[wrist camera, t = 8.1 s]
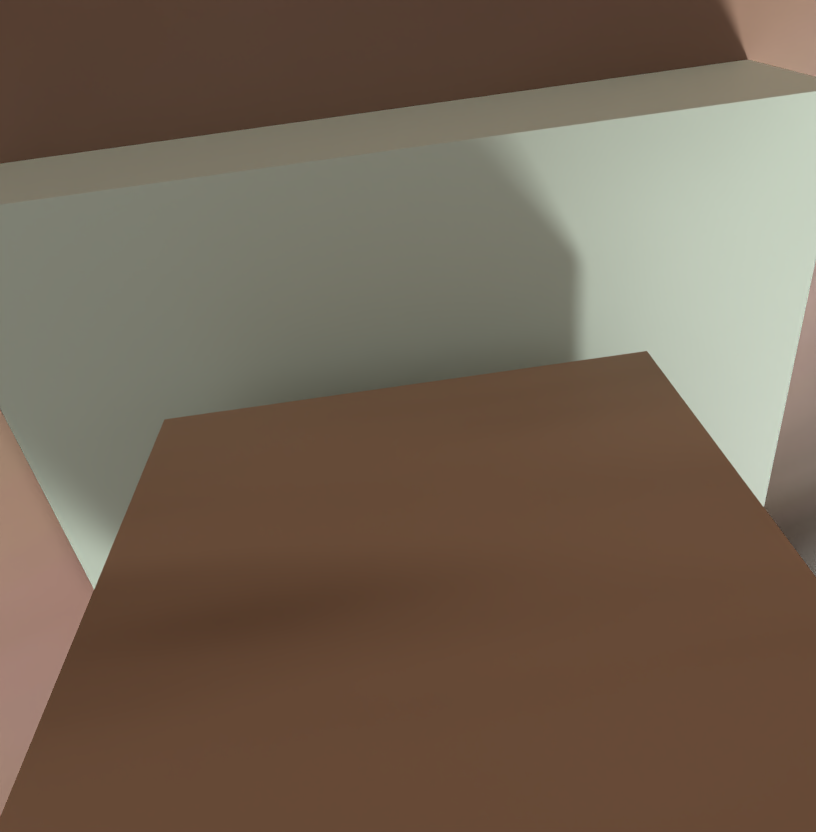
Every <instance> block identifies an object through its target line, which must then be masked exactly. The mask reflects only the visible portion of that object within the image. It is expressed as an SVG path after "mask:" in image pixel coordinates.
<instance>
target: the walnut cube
mask: <svg viewBox="0 0 816 832" xmlns="http://www.w3.org/2000/svg"><path fill="white" fill-rule="evenodd" d="M0 832H816V577H815V575H814V574H813V573H812V571H811V570H810V569H809V567H808V566H807V565H806V563H805V562H804V561H803V559H802V558H801V557H800V555H799V554H798V553H797V551H796V550H795V549H794V547H793V546H792V545H791V543H790V542H789V541H788V539H787V538H786V537H785V535H784V534H783V533H782V531H781V530H780V529H779V527H778V526H777V525H776V523H775V522H774V520H773V519H772V518H771V516H770V515H769V514H768V512H767V511H766V510H765V508H764V507H763V506H762V504H761V503H760V502H759V500H758V499H757V498H756V496H755V495H754V494H753V492H752V491H751V490H750V488H749V487H748V486H747V484H746V483H745V482H744V480H743V479H742V478H741V476H740V475H739V474H738V472H737V471H736V470H735V468H734V467H733V466H732V464H731V463H730V462H729V460H728V459H727V458H726V456H725V455H724V454H723V452H722V451H721V449H720V448H719V447H718V445H717V444H716V443H715V441H714V440H713V439H712V437H711V436H710V435H709V433H708V432H707V431H706V429H705V428H704V427H703V425H702V424H701V423H700V421H699V420H698V419H697V417H696V416H695V415H694V413H693V412H692V411H691V409H690V408H689V407H688V405H687V404H686V403H685V401H684V400H683V399H682V397H681V396H680V395H679V393H678V392H677V391H676V389H675V388H674V387H673V385H672V384H671V383H670V381H669V380H668V379H667V377H666V376H665V374H664V373H663V372H662V370H661V369H660V368H659V366H658V365H657V364H656V362H655V361H654V360H653V358H652V357H651V356H650V354H649V353H648V352H647V351H643V352H636V353H629V354H622V355H615V356H608V357H601V358H594V359H587V360H580V361H573V362H566V363H559V364H552V365H545V366H537V367H530V368H523V369H516V370H509V371H502V372H495V373H488V374H481V375H474V376H467V377H460V378H453V379H446V380H439V381H432V382H425V383H418V384H411V385H403V386H396V387H389V388H382V389H375V390H368V391H361V392H354V393H347V394H340V395H333V396H326V397H319V398H312V399H305V400H298V401H291V402H284V403H277V404H269V405H262V406H255V407H248V408H241V409H234V410H227V411H220V412H213V413H206V414H199V415H192V416H185V417H178V418H171V419H164V422H163V424H162V426H161V429H160V431H159V434H158V436H157V438H156V441H155V443H154V446H153V448H152V451H151V453H150V455H149V458H148V460H147V463H146V465H145V468H144V470H143V472H142V475H141V477H140V480H139V482H138V485H137V487H136V489H135V492H134V494H133V497H132V499H131V502H130V504H129V506H128V509H127V511H126V514H125V516H124V519H123V521H122V523H121V526H120V528H119V531H118V533H117V535H116V538H115V540H114V543H113V545H112V548H111V550H110V552H109V555H108V557H107V560H106V562H105V565H104V567H103V569H102V572H101V574H100V577H99V579H98V582H97V584H96V586H95V589H94V591H93V594H92V596H91V599H90V601H89V603H88V606H87V608H86V611H85V613H84V616H83V618H82V620H81V623H80V625H79V628H78V630H77V633H76V635H75V637H74V640H73V642H72V645H71V647H70V649H69V652H68V654H67V657H66V659H65V662H64V664H63V666H62V669H61V671H60V674H59V676H58V679H57V681H56V683H55V686H54V688H53V691H52V693H51V696H50V698H49V700H48V703H47V705H46V708H45V710H44V713H43V715H42V717H41V720H40V722H39V725H38V727H37V730H36V732H35V734H34V737H33V739H32V742H31V744H30V746H29V749H28V751H27V754H26V756H25V759H24V761H23V763H22V766H21V768H20V771H19V773H18V776H17V778H16V780H15V783H14V785H13V788H12V790H11V793H10V795H9V797H8V800H7V802H6V805H5V807H4V810H3V812H2V814H1V817H0Z"/></svg>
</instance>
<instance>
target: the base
mask: <svg viewBox="0 0 816 832" xmlns="http://www.w3.org/2000/svg"><path fill="white" fill-rule="evenodd" d="M815 261H816V77H814V76H811V75H807V74H803V73H799V72H795V71H791V70H787V69H783V68H779V67H775V66H771V65H767V64H764V63H760V62H756V61H752V60H741V61H734V62H726V63H719V64H712V65H705V66H698V67H690V68H683V69H676V70H669V71H662V72H655V73H647V74H640V75H633V76H626V77H619V78H611V79H604V80H597V81H590V82H583V83H576V84H568V85H561V86H554V87H547V88H540V89H532V90H525V91H518V92H511V93H504V94H496V95H489V96H482V97H475V98H468V99H461V100H453V101H446V102H439V103H432V104H425V105H417V106H410V107H403V108H396V109H389V110H382V111H374V112H367V113H360V114H353V115H346V116H338V117H331V118H324V119H317V120H310V121H303V122H295V123H288V124H281V125H274V126H267V127H259V128H252V129H245V130H238V131H231V132H224V133H216V134H209V135H202V136H195V137H188V138H180V139H173V140H166V141H159V142H152V143H144V144H137V145H130V146H123V147H116V148H109V149H101V150H94V151H87V152H80V153H73V154H65V155H58V156H51V157H44V158H37V159H30V160H22V161H15V162H8V163H1V164H0V409H1V411H2V413H3V415H4V417H5V419H6V421H7V423H8V425H9V427H10V428H11V430H12V432H13V434H14V436H15V438H16V440H17V442H18V444H19V446H20V448H21V450H22V452H23V453H24V455H25V457H26V459H27V461H28V463H29V465H30V467H31V469H32V471H33V473H34V475H35V477H36V478H37V480H38V482H39V484H40V486H41V488H42V490H43V492H44V494H45V496H46V498H47V500H48V502H49V503H50V505H51V507H52V509H53V511H54V513H55V515H56V517H57V519H58V521H59V523H60V525H61V527H62V528H63V530H64V532H65V534H66V536H67V538H68V540H69V542H70V544H71V546H72V548H73V550H74V552H75V553H76V555H77V557H78V559H79V561H80V563H81V565H82V567H83V569H84V571H85V573H86V575H87V577H88V578H89V580H90V582H91V584H92V586H93V588H94V589H95V586H96V584H97V582H98V579H99V577H100V574H101V572H102V569H103V567H104V565H105V562H106V560H107V557H108V555H109V552H110V550H111V548H112V545H113V543H114V540H115V538H116V535H117V533H118V531H119V528H120V526H121V523H122V521H123V519H124V516H125V514H126V511H127V509H128V506H129V504H130V502H131V499H132V497H133V494H134V492H135V489H136V487H137V485H138V482H139V480H140V477H141V475H142V472H143V470H144V468H145V465H146V463H147V460H148V458H149V455H150V453H151V451H152V448H153V446H154V443H155V441H156V438H157V436H158V434H159V431H160V429H161V426H162V424H163V422H164V419H171V418H178V417H185V416H192V415H199V414H206V413H213V412H220V411H227V410H234V409H241V408H248V407H255V406H262V405H269V404H277V403H284V402H291V401H298V400H305V399H312V398H319V397H326V396H333V395H340V394H347V393H354V392H361V391H368V390H375V389H382V388H389V387H396V386H403V385H411V384H418V383H425V382H432V381H439V380H446V379H453V378H460V377H467V376H474V375H481V374H488V373H495V372H502V371H509V370H516V369H523V368H530V367H537V366H545V365H552V364H559V363H566V362H573V361H580V360H587V359H594V358H601V357H608V356H615V355H622V354H629V353H636V352H643V351H647V352H648V353H649V354H650V356H651V357H652V358H653V360H654V361H655V362H656V364H657V365H658V366H659V368H660V369H661V370H662V372H663V373H664V374H665V376H666V377H667V379H668V380H669V381H670V383H671V384H672V385H673V387H674V388H675V389H676V391H677V392H678V393H679V395H680V396H681V397H682V399H683V400H684V401H685V403H686V404H687V405H688V407H689V408H690V409H691V411H692V412H693V413H694V415H695V416H696V417H697V419H698V420H699V421H700V423H701V424H702V425H703V427H704V428H705V429H706V431H707V432H708V433H709V435H710V436H711V437H712V439H713V440H714V441H715V443H716V444H717V445H718V447H719V448H720V449H721V451H722V452H723V454H724V455H725V456H726V458H727V459H728V460H729V462H730V463H731V464H732V466H733V467H734V468H735V470H736V471H737V472H738V474H739V475H740V476H741V478H742V479H743V480H744V482H745V483H746V484H747V486H748V487H749V488H750V490H751V491H752V492H753V494H754V495H755V496H756V498H757V499H758V500H759V502H760V503H761V504H762V506H763V507H764V504H765V499H766V494H767V490H768V485H769V480H770V475H771V471H772V466H773V461H774V456H775V451H776V447H777V442H778V437H779V432H780V428H781V423H782V418H783V413H784V409H785V404H786V399H787V394H788V390H789V385H790V380H791V375H792V370H793V366H794V361H795V356H796V351H797V347H798V342H799V337H800V332H801V328H802V323H803V318H804V313H805V308H806V304H807V299H808V294H809V289H810V285H811V280H812V275H813V270H814V266H815Z"/></svg>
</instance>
